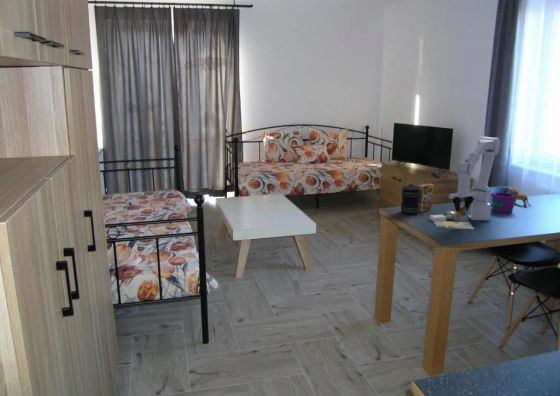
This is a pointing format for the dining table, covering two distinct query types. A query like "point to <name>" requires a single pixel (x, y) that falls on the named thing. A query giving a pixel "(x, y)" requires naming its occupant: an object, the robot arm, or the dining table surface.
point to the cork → (457, 217)
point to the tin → (450, 215)
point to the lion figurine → (519, 196)
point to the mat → (453, 225)
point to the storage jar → (410, 200)
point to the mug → (503, 202)
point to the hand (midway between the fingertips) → (461, 211)
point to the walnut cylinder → (462, 211)
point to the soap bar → (437, 218)
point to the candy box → (425, 197)
